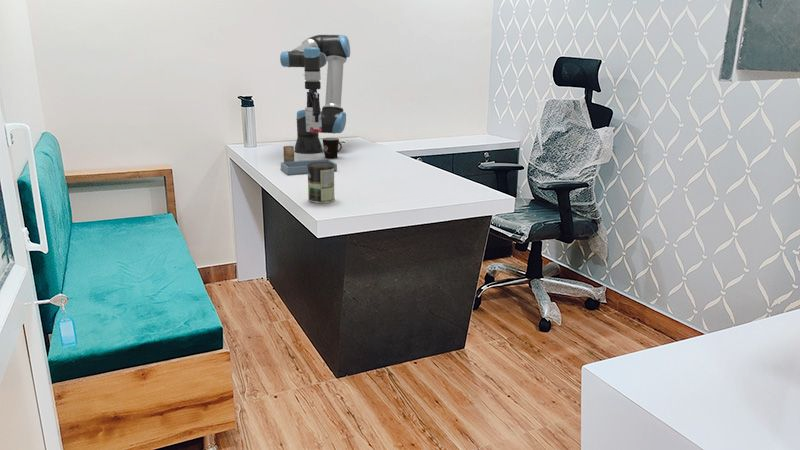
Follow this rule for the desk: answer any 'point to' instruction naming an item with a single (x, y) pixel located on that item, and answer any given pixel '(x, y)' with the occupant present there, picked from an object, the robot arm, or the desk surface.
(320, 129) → the ink box
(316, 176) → the coffee can
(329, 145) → the coffee mug
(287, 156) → the walnut dowel
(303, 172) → the tray
